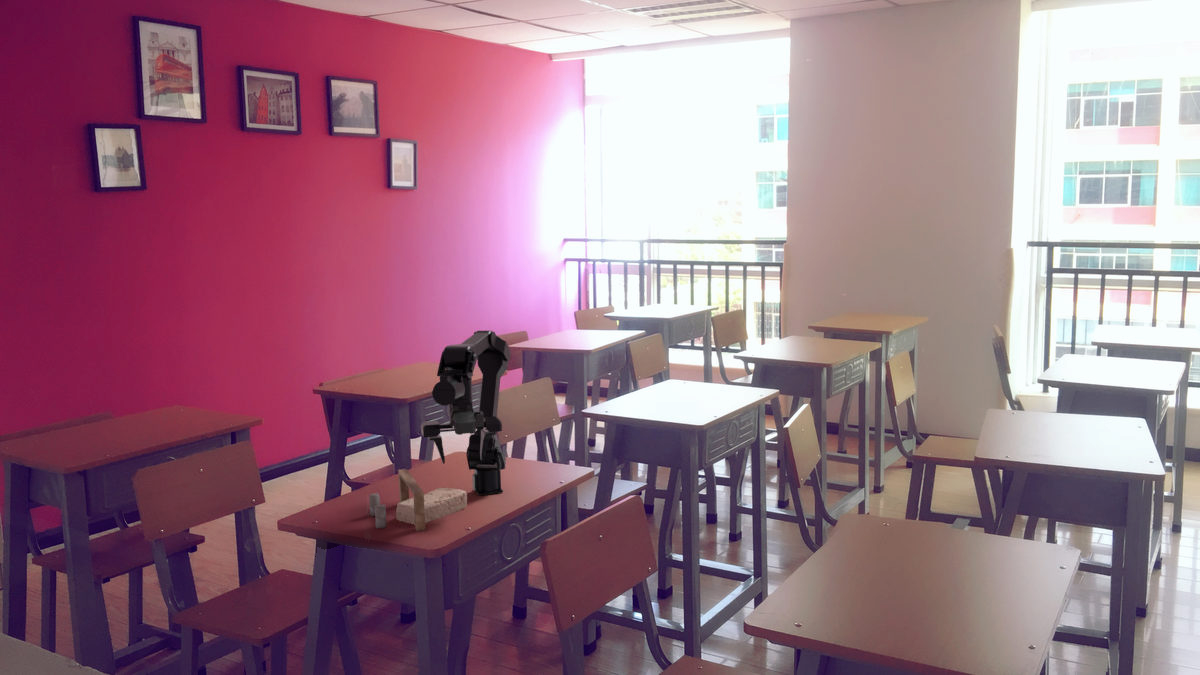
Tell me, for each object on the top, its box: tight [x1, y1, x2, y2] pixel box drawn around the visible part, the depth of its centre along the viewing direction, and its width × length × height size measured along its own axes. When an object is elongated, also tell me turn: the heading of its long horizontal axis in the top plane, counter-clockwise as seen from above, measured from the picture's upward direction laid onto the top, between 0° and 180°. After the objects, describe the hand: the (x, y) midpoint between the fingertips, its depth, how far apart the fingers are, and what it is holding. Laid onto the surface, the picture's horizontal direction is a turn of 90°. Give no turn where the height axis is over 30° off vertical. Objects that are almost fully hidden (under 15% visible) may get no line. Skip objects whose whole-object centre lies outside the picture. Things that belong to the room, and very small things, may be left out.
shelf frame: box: [368, 468, 426, 532], centre depth 221 cm, size 10×23×9 cm, turn 21°
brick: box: [395, 487, 468, 526], centre depth 225 cm, size 16×8×5 cm, turn 144°
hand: (462, 461), depth 225 cm, fingers open, 9 cm apart
